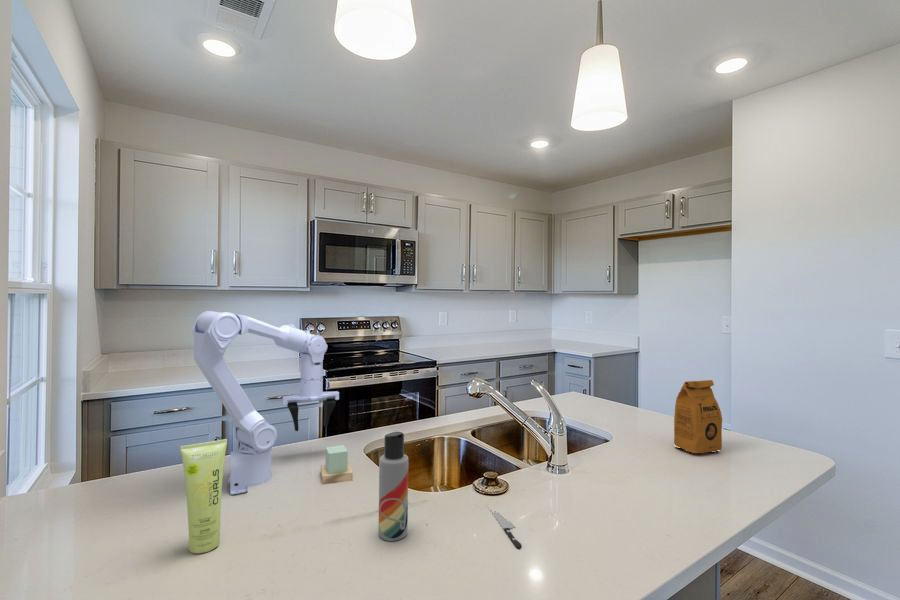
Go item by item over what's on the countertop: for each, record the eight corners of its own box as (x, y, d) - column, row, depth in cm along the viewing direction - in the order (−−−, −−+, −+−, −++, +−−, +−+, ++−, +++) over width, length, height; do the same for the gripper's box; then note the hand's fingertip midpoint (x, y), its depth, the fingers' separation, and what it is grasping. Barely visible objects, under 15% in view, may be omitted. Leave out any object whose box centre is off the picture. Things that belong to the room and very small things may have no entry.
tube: (200, 559, 76) (201, 449, 76) (178, 553, 77) (179, 445, 77) (226, 541, 81) (227, 438, 81) (205, 536, 83) (206, 435, 83)
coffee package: (727, 455, 131) (729, 382, 130) (693, 458, 128) (695, 384, 127) (701, 443, 140) (702, 376, 140) (669, 446, 137) (670, 377, 137)
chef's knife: (496, 502, 99) (483, 503, 99) (496, 497, 100) (484, 498, 99) (531, 550, 81) (516, 551, 80) (531, 544, 81) (517, 545, 80)
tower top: (322, 484, 103) (322, 476, 103) (320, 473, 110) (320, 465, 110) (352, 480, 106) (352, 472, 106) (348, 469, 112) (348, 461, 112)
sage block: (328, 474, 104) (328, 453, 104) (325, 467, 108) (325, 447, 108) (347, 471, 106) (347, 451, 106) (343, 464, 110) (343, 445, 110)
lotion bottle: (395, 545, 81) (396, 439, 81) (372, 535, 84) (373, 434, 84) (413, 531, 86) (414, 431, 86) (391, 523, 89) (392, 426, 89)
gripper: (284, 383, 110) (284, 436, 110) (341, 378, 117) (341, 428, 117) (281, 378, 116) (281, 428, 117) (336, 374, 123) (335, 421, 123)
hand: (311, 428), depth 117 cm, fingers open, 7 cm apart
